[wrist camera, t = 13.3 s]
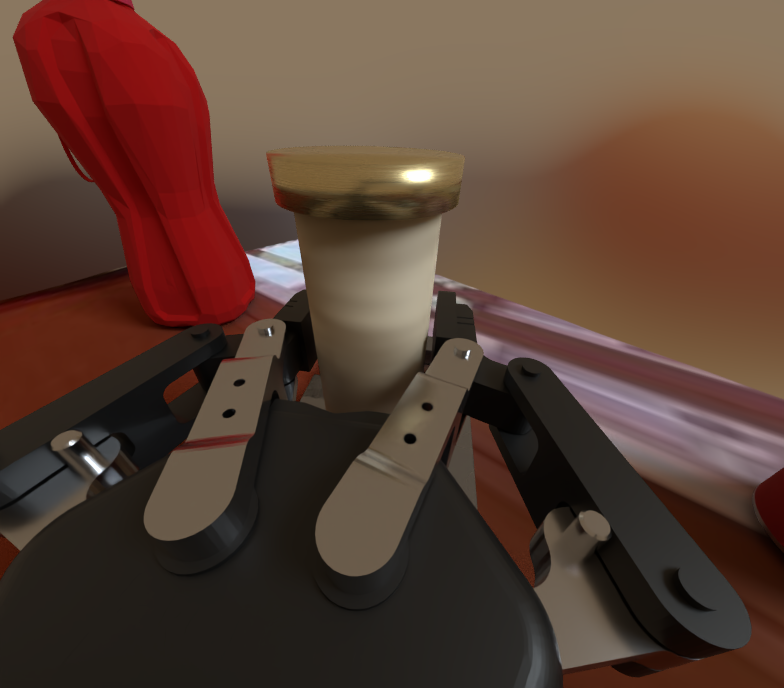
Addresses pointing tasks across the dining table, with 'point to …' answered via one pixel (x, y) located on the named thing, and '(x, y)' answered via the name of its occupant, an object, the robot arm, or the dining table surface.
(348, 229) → the pin
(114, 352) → the dining table surface
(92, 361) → the dining table surface
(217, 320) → the water bottle
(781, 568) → the dining table surface
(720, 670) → the dining table surface
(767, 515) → the soda can
